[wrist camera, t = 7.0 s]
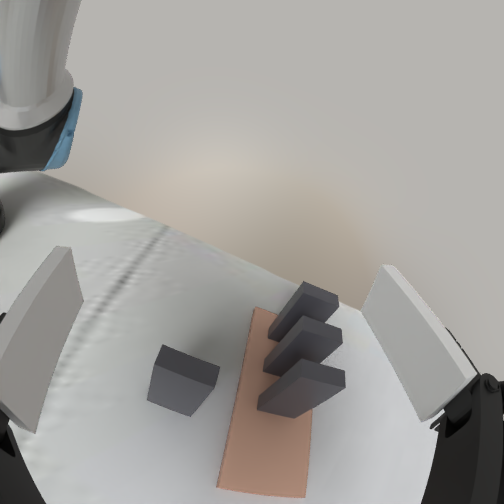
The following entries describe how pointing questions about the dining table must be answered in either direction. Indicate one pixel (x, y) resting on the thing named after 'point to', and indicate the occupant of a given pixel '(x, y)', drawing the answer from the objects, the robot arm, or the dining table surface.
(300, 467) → the domino board
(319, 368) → the domino
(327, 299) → the domino
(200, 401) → the domino
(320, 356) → the domino
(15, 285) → the dining table surface
